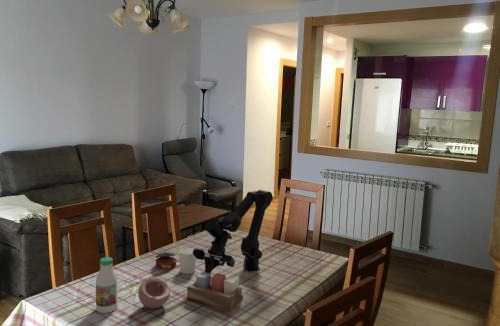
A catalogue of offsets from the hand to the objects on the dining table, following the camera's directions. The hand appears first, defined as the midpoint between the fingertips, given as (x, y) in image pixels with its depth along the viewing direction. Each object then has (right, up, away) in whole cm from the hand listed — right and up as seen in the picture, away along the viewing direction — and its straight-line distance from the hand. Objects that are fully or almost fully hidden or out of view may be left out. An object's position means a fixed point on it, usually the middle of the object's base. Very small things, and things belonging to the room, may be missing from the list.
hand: (206, 275), depth 169 cm
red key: (+5, -7, -3) cm, 9 cm away
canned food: (-23, -3, +28) cm, 36 cm away
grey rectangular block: (-1, -6, -2) cm, 7 cm away
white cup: (-11, -4, +22) cm, 26 cm away
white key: (+11, -7, -5) cm, 14 cm away
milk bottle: (-36, -9, -15) cm, 40 cm away
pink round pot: (-19, -9, -12) cm, 24 cm away
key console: (+4, -9, -4) cm, 11 cm away
